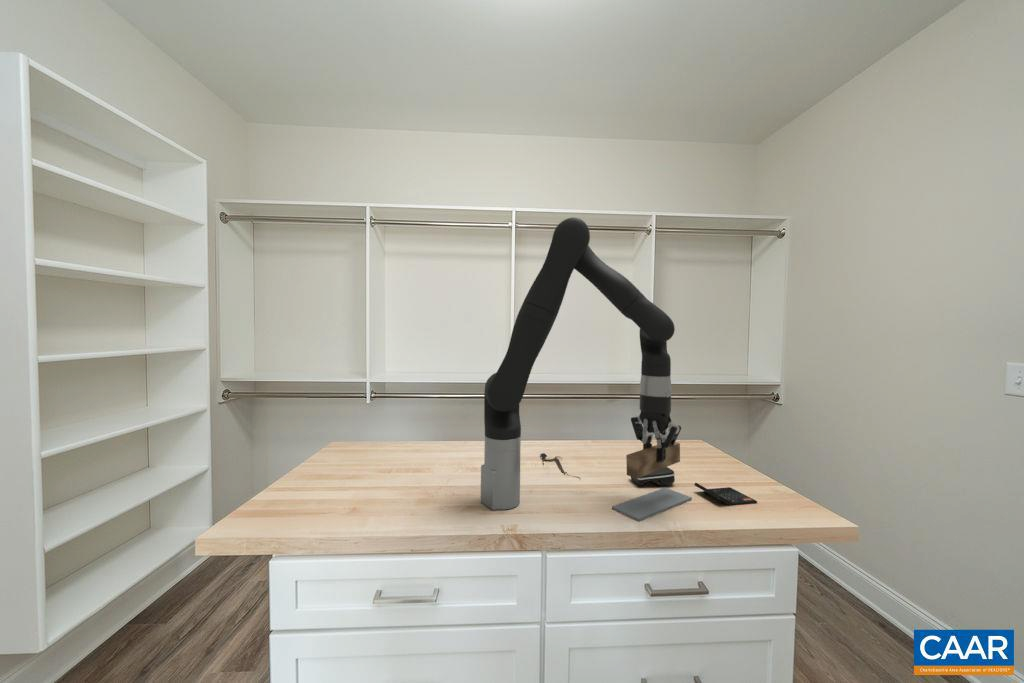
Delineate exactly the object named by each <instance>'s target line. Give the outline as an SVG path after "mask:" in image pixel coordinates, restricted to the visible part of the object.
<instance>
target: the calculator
mask: <svg viewBox="0 0 1024 683" xmlns="http://www.w3.org/2000/svg"><path fill="white" fill-rule="evenodd" d="M693 486H695V487H697V488H698V489H700V490H702V491H703V492H706V493H707V494H708V495H710V496H712V497H714V498H716V499H717V500H719V501H721V502H723V503H725V504H727V505H729V506H731V507H732V506H733V507H734V506H740V505H741V506H742V505H754V504H758V501H757V500H756V499H753V498H752V497H749V496H747V495H745V494H744V493H742V492H741V491H738V490H736V489H735V488H733V487H729V486H727V487H718V488H717V487H716V488H707V487H705V486H703V485H701V484H699V483H697V482H695V483H694V485H693Z"/></svg>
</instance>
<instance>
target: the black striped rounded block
mask: <svg viewBox="0 0 1024 683" xmlns="http://www.w3.org/2000/svg"><path fill="white" fill-rule="evenodd" d="M675 476H676V473H675V471H674V470H673V469H672V468H669V466H668V467H665V468H663V469H660V470H658V471H655V472H653V473H650V474H647V475H645V476H642V477H640V478H637V479H636V478H634V477H631V476H630V479H631V481H632V482H633V483H634V484H636V485H637V486H638V487H641V486H643V485H644V484H645V483H647V482H653V481H654V482H653V483H654V484H657V485H658V486H660V487H661V486H668V485H672V484H674V483H675V479H676V478H675Z"/></svg>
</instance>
